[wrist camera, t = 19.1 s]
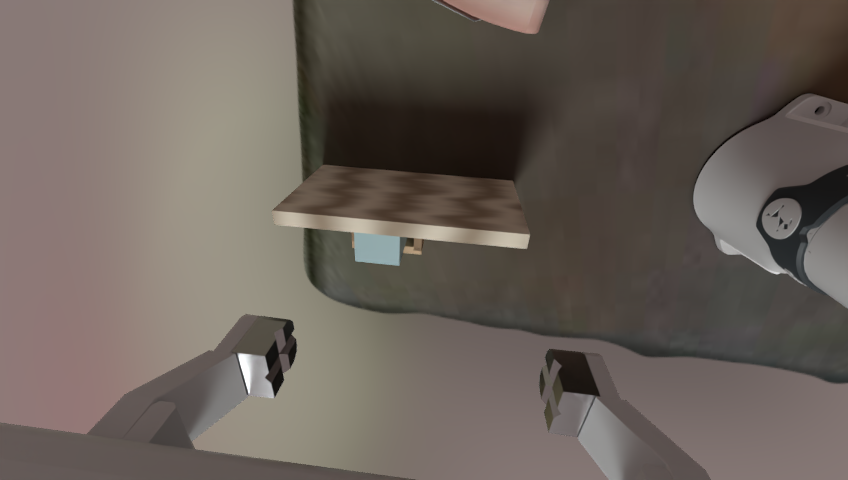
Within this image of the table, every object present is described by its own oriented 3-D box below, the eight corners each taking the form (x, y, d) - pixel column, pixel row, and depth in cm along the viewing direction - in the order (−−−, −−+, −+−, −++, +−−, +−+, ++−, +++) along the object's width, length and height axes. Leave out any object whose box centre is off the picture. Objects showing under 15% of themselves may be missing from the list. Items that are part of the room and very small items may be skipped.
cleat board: (512, 180, 45) (530, 234, 33) (500, 246, 49) (511, 315, 37) (322, 164, 46) (271, 210, 34) (328, 230, 51) (285, 291, 39)
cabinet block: (412, 190, 47) (400, 226, 38) (410, 230, 50) (399, 271, 41) (374, 187, 47) (353, 221, 38) (374, 227, 50) (355, 267, 41)
